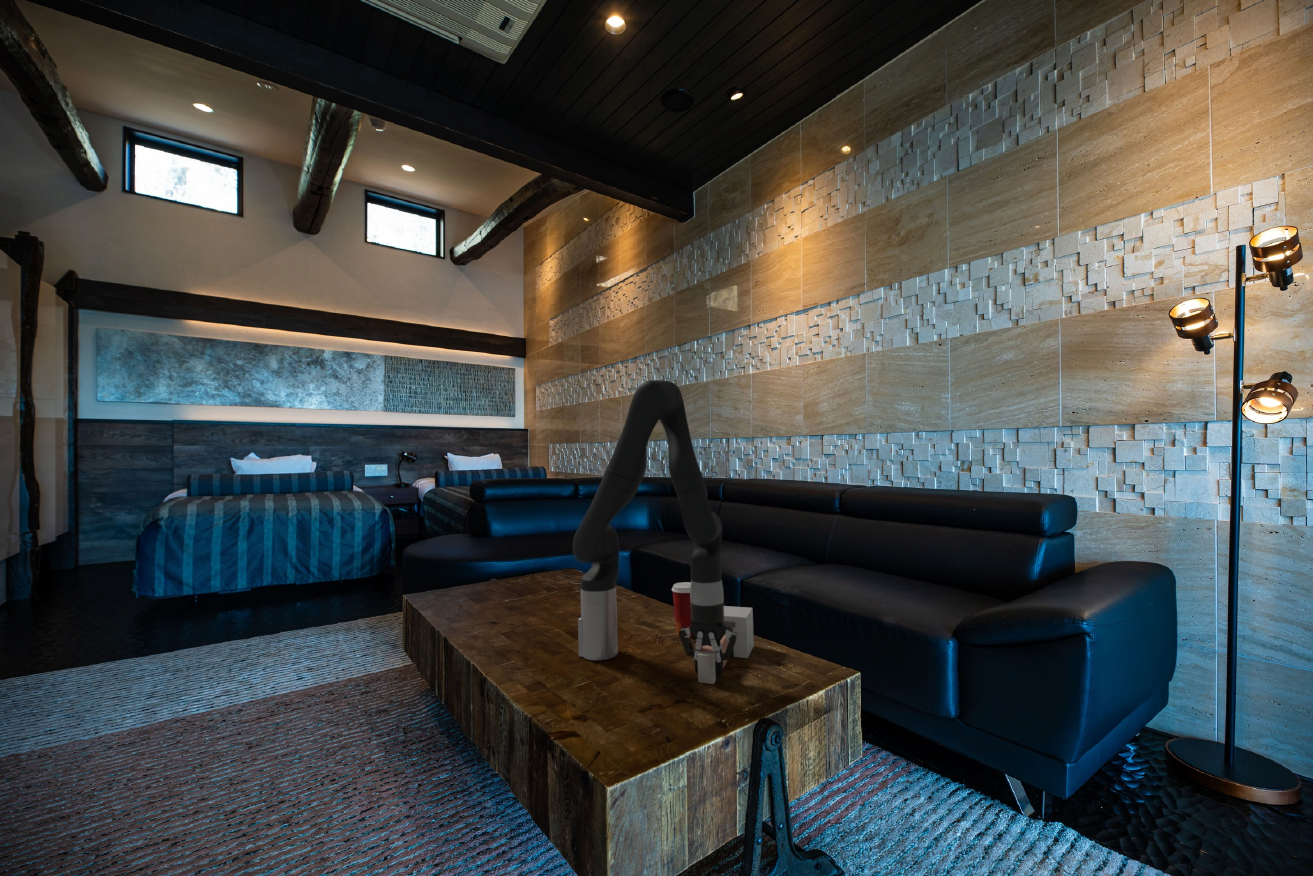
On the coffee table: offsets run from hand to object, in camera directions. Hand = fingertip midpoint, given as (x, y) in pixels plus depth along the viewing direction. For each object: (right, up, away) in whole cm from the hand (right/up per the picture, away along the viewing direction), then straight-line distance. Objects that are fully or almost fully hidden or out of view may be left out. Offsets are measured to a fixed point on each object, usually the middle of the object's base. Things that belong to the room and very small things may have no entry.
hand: (709, 676), depth 123 cm
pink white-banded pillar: (+2, -1, +5) cm, 5 cm away
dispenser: (+7, -1, +18) cm, 19 cm away
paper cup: (-3, -2, +31) cm, 32 cm away
